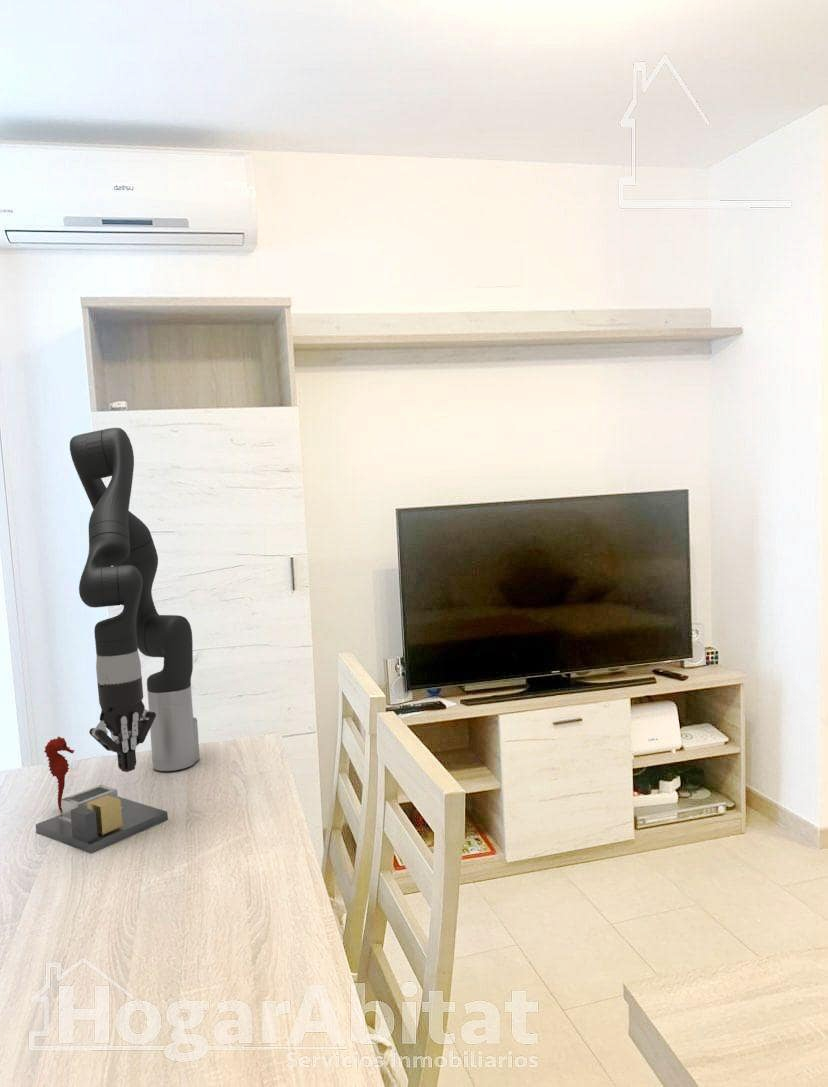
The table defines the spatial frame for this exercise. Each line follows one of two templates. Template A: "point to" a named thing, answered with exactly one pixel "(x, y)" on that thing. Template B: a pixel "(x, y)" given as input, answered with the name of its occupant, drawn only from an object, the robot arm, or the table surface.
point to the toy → (58, 763)
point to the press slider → (107, 813)
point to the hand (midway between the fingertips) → (127, 770)
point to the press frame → (82, 827)
